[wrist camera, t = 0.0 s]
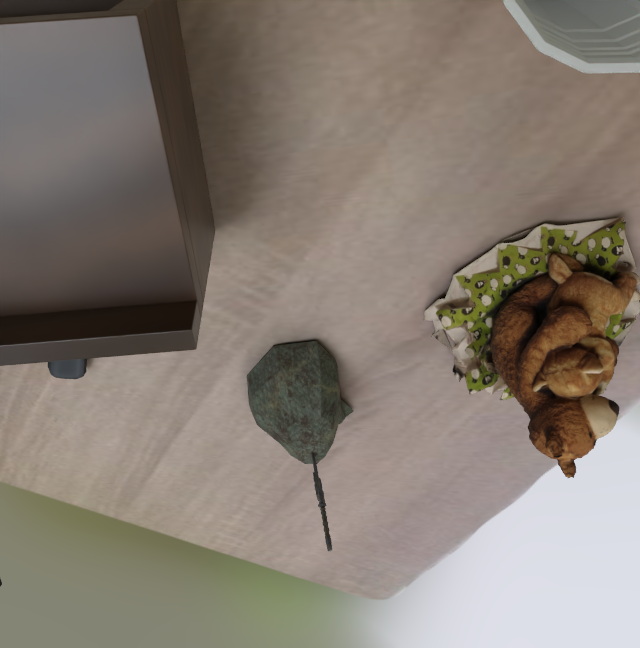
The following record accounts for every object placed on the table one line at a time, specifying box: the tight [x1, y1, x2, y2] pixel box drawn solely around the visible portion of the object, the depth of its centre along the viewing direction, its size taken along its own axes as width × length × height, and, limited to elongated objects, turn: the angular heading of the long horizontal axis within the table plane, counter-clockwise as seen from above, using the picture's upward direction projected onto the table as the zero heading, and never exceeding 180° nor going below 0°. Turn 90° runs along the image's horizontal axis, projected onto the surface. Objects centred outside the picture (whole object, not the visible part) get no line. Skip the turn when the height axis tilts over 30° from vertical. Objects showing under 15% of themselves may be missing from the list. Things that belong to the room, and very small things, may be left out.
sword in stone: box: [247, 341, 353, 551], centre depth 42 cm, size 10×8×12 cm
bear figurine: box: [424, 217, 640, 478], centre depth 39 cm, size 14×15×12 cm
